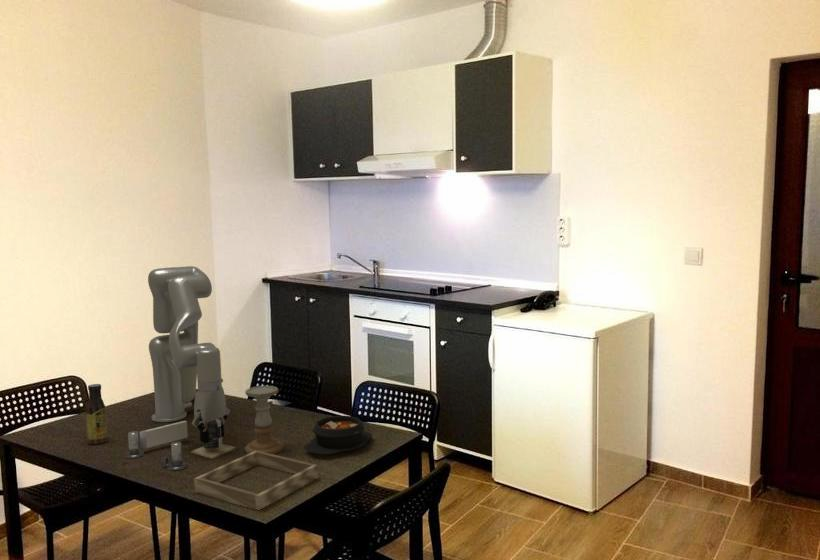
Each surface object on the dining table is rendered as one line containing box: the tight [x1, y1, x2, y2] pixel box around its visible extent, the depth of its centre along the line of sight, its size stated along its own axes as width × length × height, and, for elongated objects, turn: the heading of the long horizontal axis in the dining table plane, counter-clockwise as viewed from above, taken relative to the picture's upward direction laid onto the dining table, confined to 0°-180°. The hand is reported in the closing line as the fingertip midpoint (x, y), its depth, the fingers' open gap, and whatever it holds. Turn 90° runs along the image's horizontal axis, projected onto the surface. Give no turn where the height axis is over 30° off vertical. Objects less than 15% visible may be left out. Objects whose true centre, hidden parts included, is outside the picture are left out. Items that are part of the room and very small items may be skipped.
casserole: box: [303, 415, 373, 456], centre depth 225 cm, size 25×19×8 cm
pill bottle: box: [202, 419, 223, 449], centre depth 223 cm, size 6×6×11 cm
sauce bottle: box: [85, 383, 108, 445], centre depth 233 cm, size 6×6×20 cm
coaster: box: [190, 443, 237, 460], centre depth 224 cm, size 10×10×1 cm
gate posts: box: [124, 430, 188, 472], centre depth 216 cm, size 26×6×8 cm, turn 59°
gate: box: [139, 420, 189, 450], centre depth 228 cm, size 16×2×6 cm, turn 134°
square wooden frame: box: [193, 451, 319, 511], centre depth 196 cm, size 24×24×4 cm
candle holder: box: [244, 385, 284, 455], centre depth 223 cm, size 12×12×20 cm
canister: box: [172, 360, 197, 403], centre depth 279 cm, size 18×18×21 cm
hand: (212, 438), depth 223 cm, fingers closed on pill bottle, 6 cm apart
